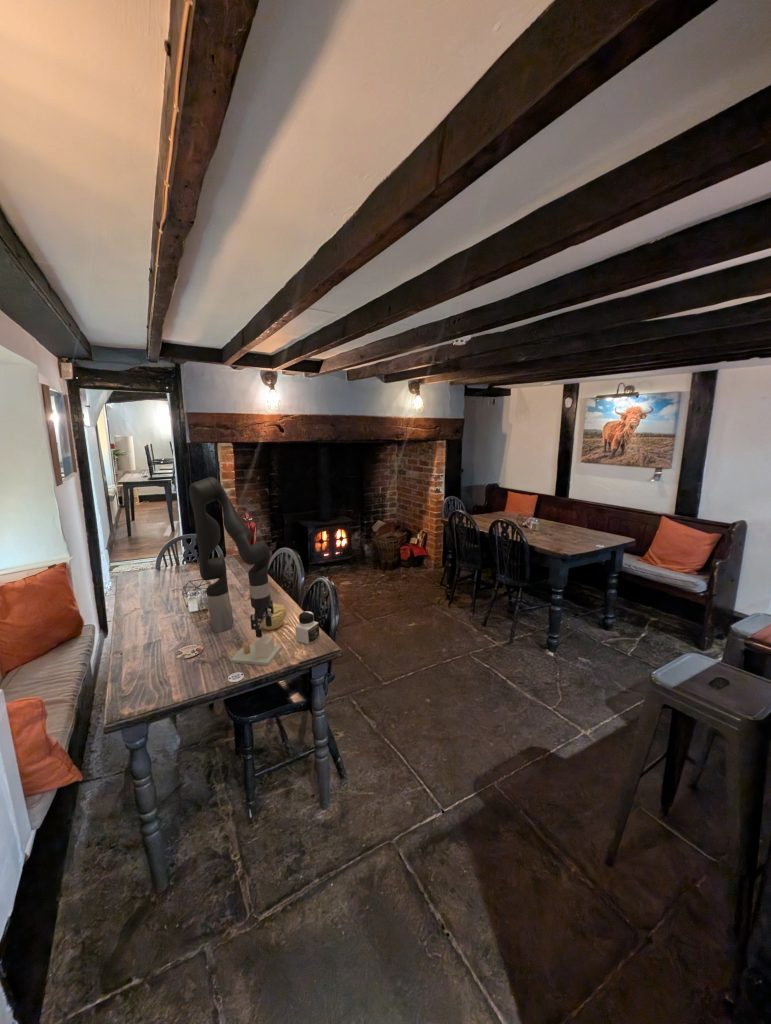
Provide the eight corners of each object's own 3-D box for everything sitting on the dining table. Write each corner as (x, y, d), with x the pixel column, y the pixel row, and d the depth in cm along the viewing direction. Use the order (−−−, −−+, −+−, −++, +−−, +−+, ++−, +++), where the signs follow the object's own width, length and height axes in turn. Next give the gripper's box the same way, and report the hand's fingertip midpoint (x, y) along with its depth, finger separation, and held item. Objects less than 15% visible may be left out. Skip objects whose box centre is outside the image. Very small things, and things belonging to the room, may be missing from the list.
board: (246, 646, 174) (244, 635, 173) (281, 649, 171) (280, 637, 170) (230, 662, 163) (228, 650, 162) (268, 665, 159) (266, 653, 158)
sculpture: (270, 635, 183) (268, 612, 180) (254, 628, 190) (251, 606, 188) (290, 624, 192) (288, 603, 189) (274, 618, 199) (272, 597, 196)
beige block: (262, 649, 169) (261, 636, 168) (274, 650, 168) (273, 636, 167) (256, 656, 164) (254, 643, 162) (268, 657, 163) (267, 643, 161)
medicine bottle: (309, 645, 173) (307, 618, 171) (296, 641, 177) (293, 615, 174) (320, 637, 179) (317, 611, 177) (307, 633, 183) (304, 608, 180)
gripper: (259, 585, 168) (263, 622, 172) (241, 601, 155) (246, 640, 158) (277, 586, 167) (280, 623, 170) (260, 602, 153) (264, 641, 157)
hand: (264, 631), depth 164 cm, fingers open, 8 cm apart
